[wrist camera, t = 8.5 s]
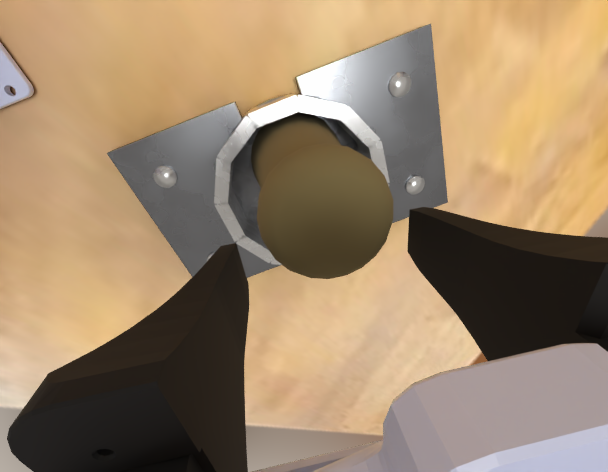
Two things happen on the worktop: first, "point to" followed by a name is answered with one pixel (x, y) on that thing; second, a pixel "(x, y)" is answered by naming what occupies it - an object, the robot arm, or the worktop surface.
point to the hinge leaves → (242, 130)
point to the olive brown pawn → (318, 198)
